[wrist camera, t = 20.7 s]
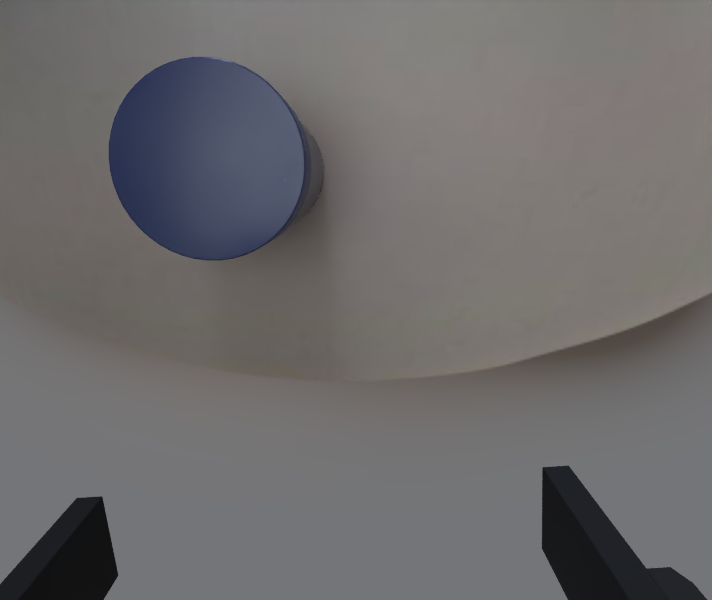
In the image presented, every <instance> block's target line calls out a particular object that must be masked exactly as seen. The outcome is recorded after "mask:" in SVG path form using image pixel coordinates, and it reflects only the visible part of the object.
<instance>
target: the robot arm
mask: <svg viewBox="0 0 712 600" xmlns="http://www.w3.org/2000/svg"><path fill="white" fill-rule="evenodd" d="M542 483H543V485H542V486H543V488H542V549H543V551H544V553H545V555H546V557H547V559H548V561H549V563H550V565H551V567H552V569H553V571H554V573H555V575H556V577H557V579H558V581H559V583H560V585H561V587H562V589H563V591H564V592H565V595H566V596H567V598H568V600H707V599H706V598H705V597H704V595H703V594H702V593H701V592H700V591H699V590H698V588H697V587H696V586H695V585H694V584H693V583H692V582H691V581H689V580H688V579H686V578H685V577H684V576H682V575H680V574H679V573H678V572H676V571H675V570H674V569H672V568H671V567H667V568H651V569H646V568H645V566H644V565H643V564H642V562H641V561H640V560H639V558H638V557H637V556H636V554H635V553H634V552H633V550H632V549H631V548H630V546H629V545H628V544H627V542H626V541H625V540H624V538H623V537H622V536H621V534H620V533H619V532H618V530H617V529H616V528H615V527H614V525H613V524H612V522H611V521H610V520H609V519H608V517H607V516H606V515H605V513H604V512H603V511H602V509H601V508H600V507H599V505H598V504H597V503H596V501H595V500H594V499H593V497H592V496H591V495H590V493H589V492H588V491H587V489H586V488H585V487H584V486H583V484H582V483H581V481H580V480H579V479H578V478H577V476H576V475H575V474H574V472H573V471H572V470H571V468H570V467H569V466H557V467H543V480H542ZM117 577H118V572H117V567H116V562H115V557H114V552H113V548H112V542H111V537H110V532H109V528H108V523H107V518H106V513H105V508H104V503H103V498H102V497H88V498H77V499H76V500H75V501H74V502H73V503H72V504H71V505H70V506H69V508H68V509H67V510H66V511H65V512H64V513H63V514H62V515H61V517H60V518H59V519H58V520H57V521H56V522H55V523H54V524H53V526H52V527H51V528H50V529H49V530H48V531H47V532H46V534H45V535H44V536H43V537H42V538H41V539H40V540H39V541H38V542H37V544H36V545H35V546H34V547H33V548H32V549H31V551H29V553H28V554H27V555H26V556H25V557H24V558H23V559H22V561H20V563H19V564H18V565H17V566H16V567H15V568H14V569H13V571H12V572H11V573H10V574H9V575H8V576H7V577H6V578H5V579H4V581H3V582H2V583H1V584H0V600H104V598H105V596H106V595H107V593H108V591H109V590H110V588H111V587H112V585H113V583H114V582H115V580H116V578H117Z"/></svg>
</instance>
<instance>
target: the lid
mask: <svg viewBox="0 0 712 600" xmlns="http://www.w3.org/2000/svg"><path fill="white" fill-rule="evenodd" d="M109 163H110V171H111V176H112V180H113V184H114V186H115V189H116V192H117V195H118V197H119V199H120V201H121V203H122V205H123V207H124V208H125V210H126V211H127V213H128V214H129V216H130V217H131V219H132V220H133V221H134V222H135V223H136V225H137V226H138V227H139V228H140V229H141V230H142V231H143V232H144V233H145V234H146V235H147V236H149V237H150V238H151V239H152V240H154V241H155V242H157V243H158V244H159V245H161V246H163V247H165V248H167V249H168V250H170V251H172V252H175V253H177V254H180V255H182V256H186V257H190V258H194V259H200V260H226V259H233V258H236V257H240V256H244V255H246V254H248V253H251V252H253V251H255V250H257V249H259V248H260V247H262V246H264V245H265V244H267V243H269V242H270V241H272V240H273V239H275V238H276V237H278V236H279V235H280V234H281V233H283V232H284V231H285V230H286V229H287V228H288V227H289V226H290V225H291V223H292V222H293V221H294V219H295V218H296V217H297V215H298V214H299V212H300V210H301V208H302V206H303V204H304V202H305V199H306V196H307V194H308V189H309V185H310V179H311V155H310V148H309V144H308V141H307V137H306V134H305V132H304V129H303V127H302V125H301V123H300V121H299V119H298V117H297V116H296V114H295V112H294V111H293V110H292V108H291V107H290V106H289V105H288V103H287V102H286V101H285V100H284V99H283V98H282V97H281V95H280V94H279V93H278V92H277V91H276V90H275V89H274V88H273V87H272V86H271V85H270V84H269V83H268V82H266V81H265V80H264V79H263V78H261V77H260V76H259V75H257V74H256V73H254V72H252V71H251V70H249V69H247V68H246V67H243V66H241V65H239V64H236V63H234V62H230V61H227V60H223V59H219V58H211V57H191V58H184V59H179V60H176V61H172V62H169V63H167V64H164V65H162V66H160V67H158V68H156V69H154V70H153V71H151V72H150V73H148V74H147V75H145V76H144V77H143V78H142V79H141V80H140V81H139V82H138V83H136V84H135V86H134V87H133V88H132V89H131V90H130V92H129V93H128V94H127V95H126V97H125V99H124V100H123V102H122V103H121V105H120V107H119V109H118V112H117V114H116V116H115V119H114V122H113V126H112V129H111V134H110V141H109Z"/></svg>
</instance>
